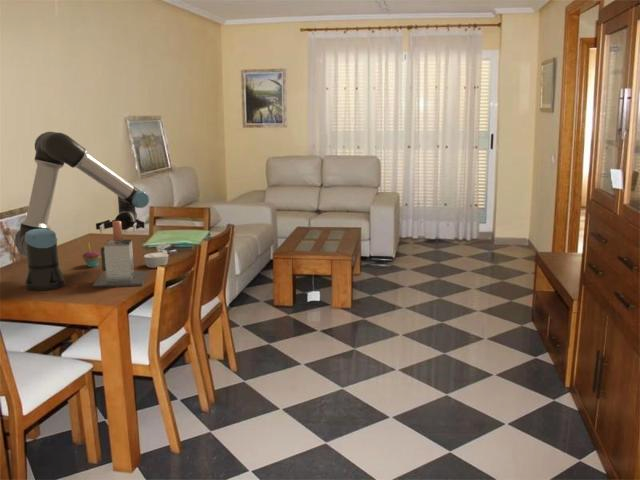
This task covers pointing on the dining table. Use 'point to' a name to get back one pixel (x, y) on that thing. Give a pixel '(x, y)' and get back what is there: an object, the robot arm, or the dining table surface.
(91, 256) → the cupcake
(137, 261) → the dining table surface
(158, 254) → the ramekin
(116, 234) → the salmon orange cylinder
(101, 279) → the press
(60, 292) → the dining table surface
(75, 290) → the dining table surface
